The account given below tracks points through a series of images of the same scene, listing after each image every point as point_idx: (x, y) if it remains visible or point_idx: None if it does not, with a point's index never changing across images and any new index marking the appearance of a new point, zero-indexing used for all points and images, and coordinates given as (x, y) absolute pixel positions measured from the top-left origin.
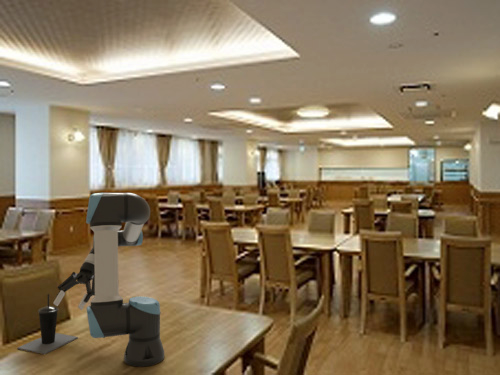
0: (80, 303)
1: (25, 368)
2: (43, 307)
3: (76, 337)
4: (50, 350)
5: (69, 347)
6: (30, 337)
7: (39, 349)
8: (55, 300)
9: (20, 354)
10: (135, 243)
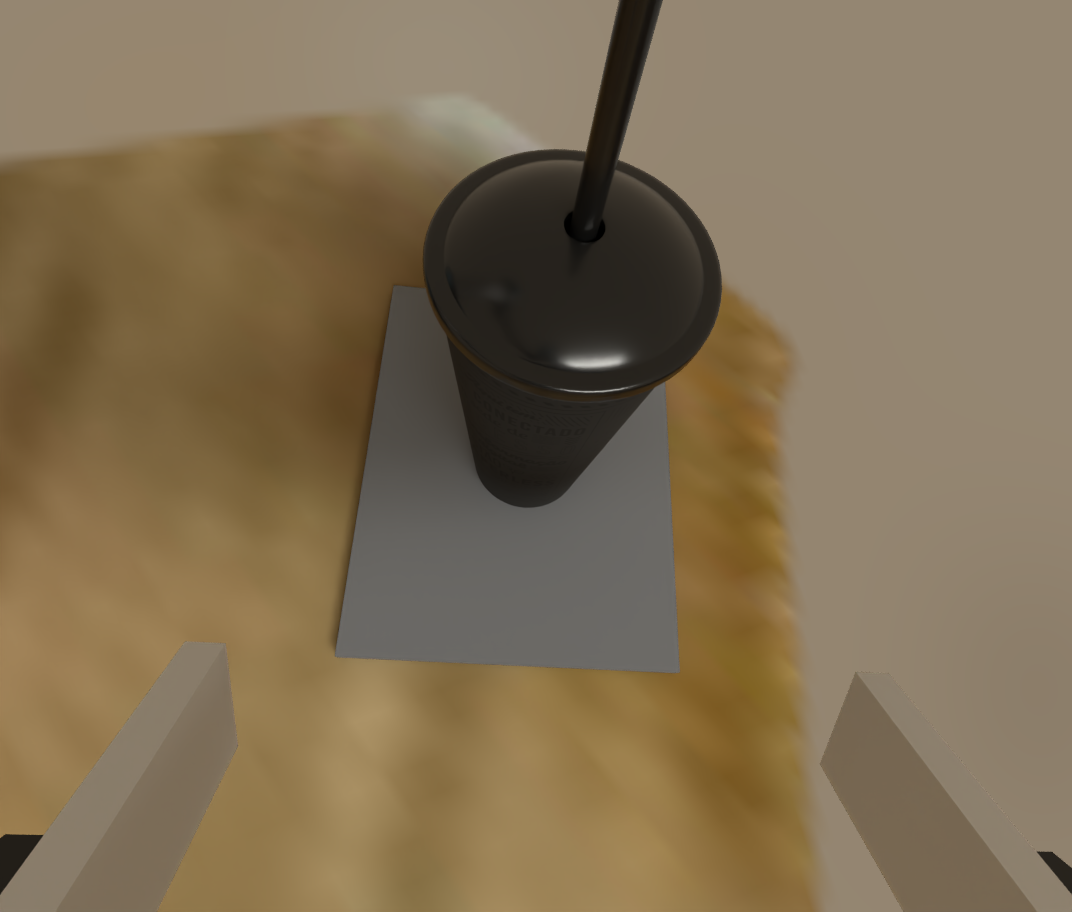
0: (151, 709)
1: (368, 127)
2: (665, 228)
3: (338, 637)
4: (386, 337)
5: (283, 449)
6: (775, 523)
7: None
8: (906, 719)
9: None
10: None
